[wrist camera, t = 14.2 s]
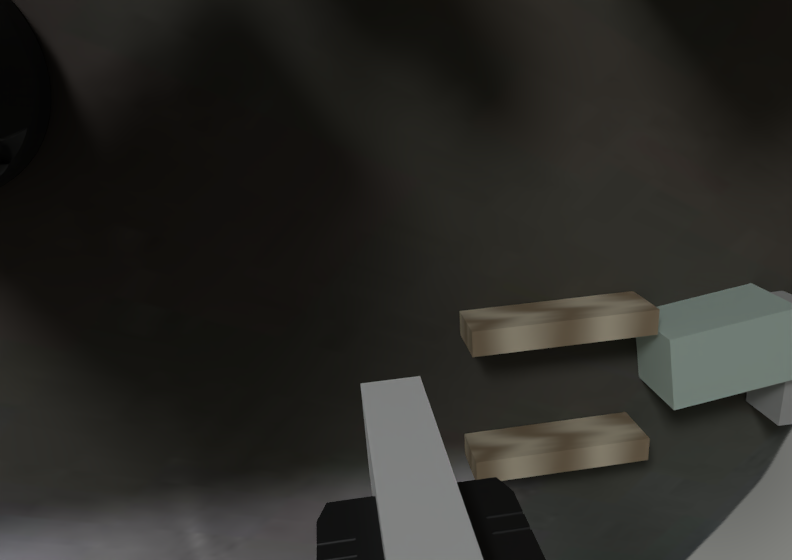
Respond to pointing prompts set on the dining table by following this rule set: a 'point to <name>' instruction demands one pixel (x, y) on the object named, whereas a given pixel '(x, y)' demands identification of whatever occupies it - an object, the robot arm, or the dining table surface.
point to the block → (718, 346)
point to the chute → (567, 439)
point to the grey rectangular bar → (774, 393)
